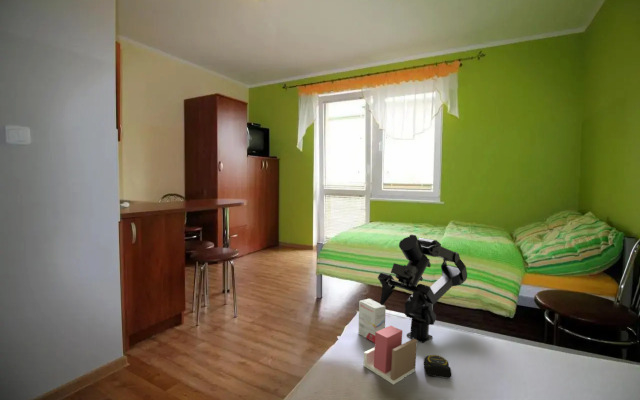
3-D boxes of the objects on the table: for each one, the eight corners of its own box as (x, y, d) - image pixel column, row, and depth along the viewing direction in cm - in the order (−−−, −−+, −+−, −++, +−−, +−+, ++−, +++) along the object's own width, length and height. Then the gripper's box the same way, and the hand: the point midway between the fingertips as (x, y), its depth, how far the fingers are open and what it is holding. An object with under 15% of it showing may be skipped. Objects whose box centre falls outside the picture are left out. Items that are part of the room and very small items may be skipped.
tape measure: (424, 378, 85) (425, 365, 85) (422, 364, 91) (423, 352, 91) (451, 383, 83) (452, 369, 83) (447, 368, 90) (447, 355, 90)
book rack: (385, 354, 96) (386, 325, 95) (415, 370, 88) (417, 339, 87) (363, 365, 89) (365, 335, 89) (393, 384, 81) (395, 351, 81)
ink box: (385, 340, 104) (387, 306, 104) (374, 344, 101) (376, 309, 101) (367, 330, 112) (369, 297, 111) (357, 333, 109) (358, 300, 108)
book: (389, 358, 92) (390, 325, 91) (400, 364, 89) (402, 330, 88) (373, 366, 87) (375, 332, 87) (385, 373, 84) (387, 337, 84)
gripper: (382, 248, 106) (358, 286, 100) (432, 260, 92) (409, 305, 86) (395, 268, 112) (373, 305, 105) (444, 282, 98) (423, 325, 91)
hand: (392, 309), depth 97 cm, fingers open, 9 cm apart
